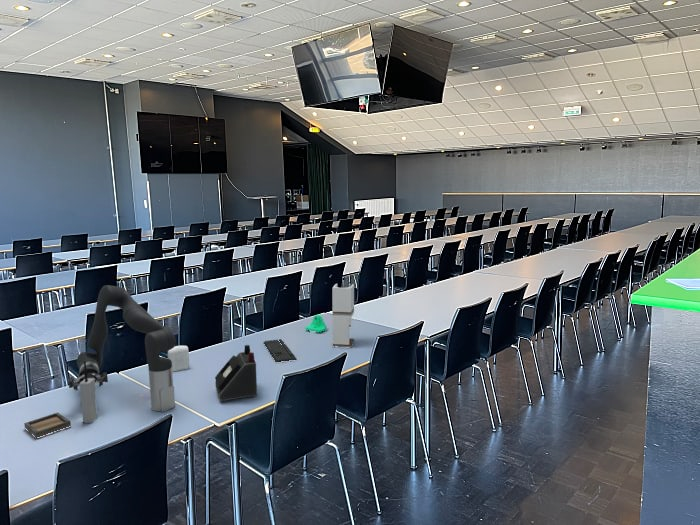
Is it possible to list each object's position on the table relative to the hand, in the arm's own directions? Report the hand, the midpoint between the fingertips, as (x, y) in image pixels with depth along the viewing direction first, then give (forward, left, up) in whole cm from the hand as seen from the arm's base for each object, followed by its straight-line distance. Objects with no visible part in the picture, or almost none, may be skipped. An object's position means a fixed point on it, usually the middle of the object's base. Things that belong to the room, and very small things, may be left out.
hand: (88, 386), depth 202 cm
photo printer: (+19, -51, -13) cm, 56 cm away
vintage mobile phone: (-3, +2, -13) cm, 14 cm away
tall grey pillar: (-20, -134, -13) cm, 137 cm away
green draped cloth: (+11, -143, -14) cm, 145 cm away
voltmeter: (-27, -51, -13) cm, 60 cm away
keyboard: (0, -102, -14) cm, 103 cm away
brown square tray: (+3, +15, -13) cm, 20 cm away
